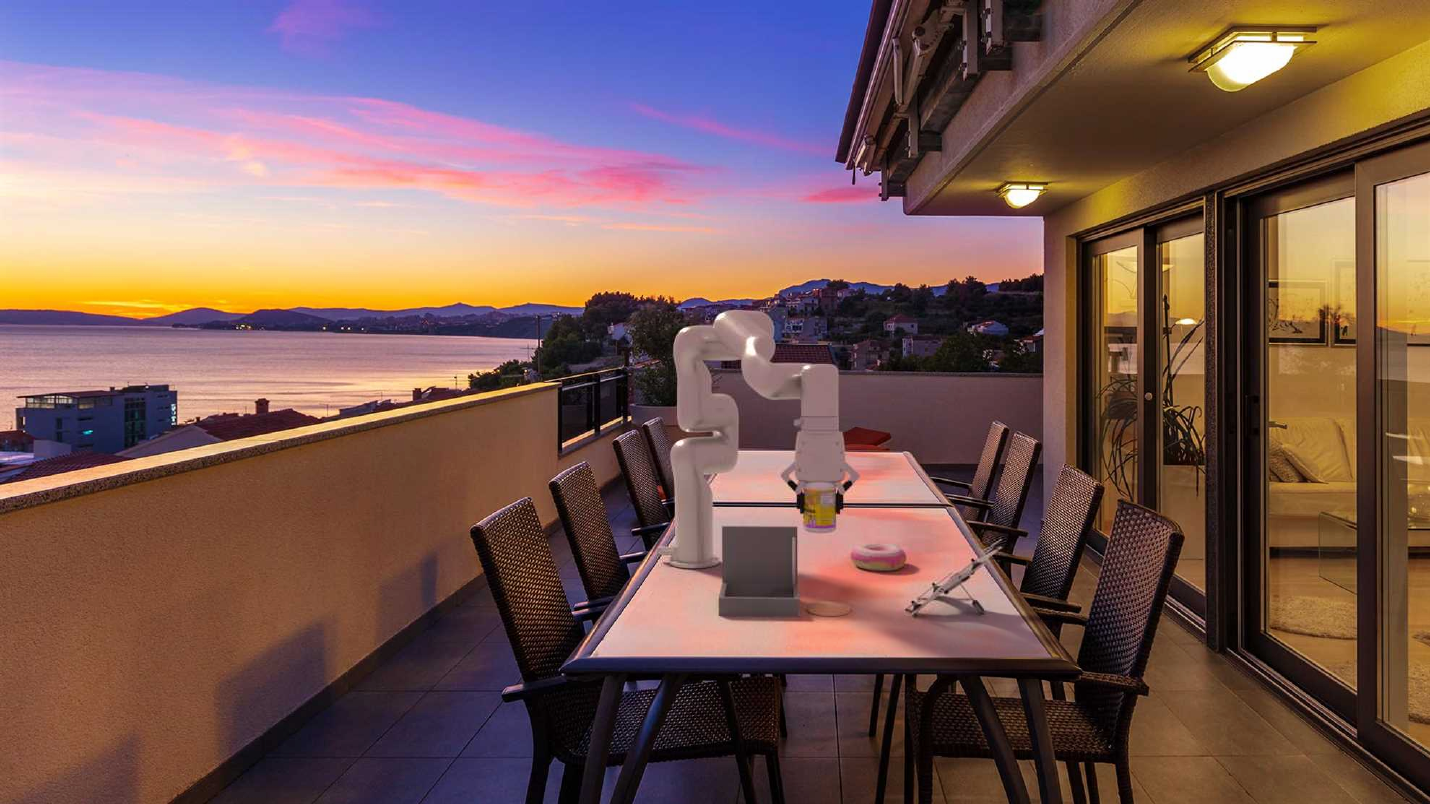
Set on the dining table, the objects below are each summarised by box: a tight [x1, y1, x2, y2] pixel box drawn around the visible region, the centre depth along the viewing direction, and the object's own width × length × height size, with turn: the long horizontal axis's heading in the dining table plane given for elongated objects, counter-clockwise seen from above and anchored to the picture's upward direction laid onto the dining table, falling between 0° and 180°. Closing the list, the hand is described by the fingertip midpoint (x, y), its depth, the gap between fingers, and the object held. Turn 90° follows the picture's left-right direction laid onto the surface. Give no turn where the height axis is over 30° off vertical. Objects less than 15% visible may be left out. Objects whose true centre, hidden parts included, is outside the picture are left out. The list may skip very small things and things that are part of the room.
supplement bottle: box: [802, 482, 837, 534], centre depth 168 cm, size 7×7×13 cm
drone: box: [904, 538, 1003, 616], centre depth 168 cm, size 23×23×10 cm
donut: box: [850, 542, 907, 572], centre depth 205 cm, size 14×13×5 cm
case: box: [718, 525, 800, 618], centre depth 171 cm, size 16×13×16 cm
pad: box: [805, 601, 851, 617], centre depth 169 cm, size 9×9×1 cm
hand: (819, 512), depth 169 cm, fingers closed on supplement bottle, 6 cm apart
